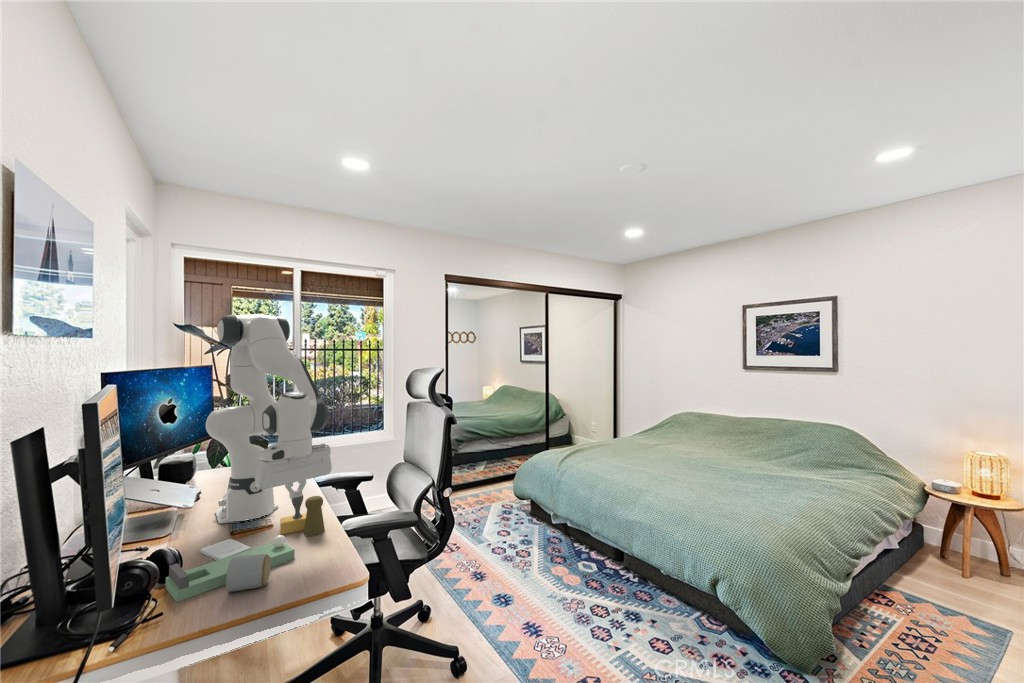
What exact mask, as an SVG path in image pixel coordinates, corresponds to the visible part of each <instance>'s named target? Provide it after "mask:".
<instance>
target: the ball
mask: <svg viewBox="0 0 1024 683" xmlns="http://www.w3.org/2000/svg"><path fill="white" fill-rule="evenodd" d="M286 541H287V540H286V537H285V536H284V534H283V535H280V534H279V535H278V534H277V535H276V536H274V538H273V539H272V542H273V546H274V547H276V548H280V547H282V546H283V545H284V544H286Z"/></svg>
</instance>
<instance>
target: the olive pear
mask: <svg viewBox="0 0 1024 683" xmlns="http://www.w3.org/2000/svg"><path fill="white" fill-rule="evenodd" d="M323 505H324V499H323V497H322V496H320V495H314V496H309V497H307V499H305V503H304V506H305V508H306V513H307V514H306V522H305V529H304V530H303V531H304V532H303V535H304V536H306V537H314V536H318V535H321V534H323V533H324V532H326V530H325V521H324V516H323V508H322V506H323Z"/></svg>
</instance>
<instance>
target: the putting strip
mask: <svg viewBox="0 0 1024 683" xmlns="http://www.w3.org/2000/svg"><path fill="white" fill-rule="evenodd" d="M295 551H296V550H295V548H293V547H292V546H290V545H288V544H286V543H285V544H284V545H283V546H282V547H280V548H276V547H274V546H273V541H272V542H270V543H265V544H263V545H261V546H260V545H259V546H258V547H254V548H252V549H251V550H248V551H245V552H242V553H239V554H236V555H233V556H242V555H256V554H267V555H269V556H270V558H271V568H273V567H276V566H279V565H281V564H285V563H286V562H289V561H292V560H295V559H296V558H295V554H296V553H295ZM233 556H230V557H226V558H223V559H220V560H215V561H211V562H209V563H208V562H207V563H206V564H202V565H200V566H197V567H194V568H190V569H187V570H184V568H183V567H181V565H180V564H179V563H174V564H171V565H169V568H168V569H169V570H168V571H169V572H168V574H169V575H168V576H166V577H165V589H166V590H167V592H168V593H169V594H170V596H171V597H172V599H173V600H174V602H176V603H179V602H181V601H184V600H186V599H189V598H191V597H194V596H197V595H199V594H200V595H201V594H203V593H206V592H208V591H210V590H213V589H216V588H219V587H221V586H224V585H225V586H226V576H227V570H228V565H229V563H230V561H231V559H232V557H233Z"/></svg>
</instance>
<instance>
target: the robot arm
mask: <svg viewBox="0 0 1024 683" xmlns="http://www.w3.org/2000/svg"><path fill="white" fill-rule="evenodd" d="M290 327H291V326H290V324H289V322H288V320H287V319H286V318H284V317H282V316H278V315H273V316H272V315H264V314H239V315H236V314H228V315H224V316H222V317H221V318H220V319H219V322H218V324H217V326H216V334H217V336H218V341H220V343H222V344H223V345H224V346H225V345H226V346H231V353H230V365H229V366H230V367H229V368H230V371H229V372H230V374H229V375H230V382H229V383H230V388H231V389H232V391H233V392H234V393H236V394H238V395H240V396H243V397H246V399H247V400H248V401H249V402H248V403H249V404H248V405H247V404H246V405H237V406H228V407H227V406H226V407H224V408H219V409H215V410H213V411H211V413H209V415H208V416H207V419H206V421H205V430H206V432H207V433H208V435H209V436H210V437H211V438H212V439H214V440H216V441H218V442H219V443H220V444H222V445H223V447H225V449H226V451H227V452H228V455H229V462H230V477H229V481H228V489H227V490H226V492H224V494H223V496H222V499H218V503H217V504H218V507H220V508H217V509H215V513H214V514H215V516H216V519H217V522H218V524H227V523H233V522H232V521H238V520H246V519H253V518H258V517H261V516H264V517H266V516H265V515H267V516H269V515H271V514H272V513H273V512H274V511H275V510H277V509H279V505H278V504H277V503H275V498H274V497H275V496H274V488H275V487H280V486H284V487H285V489H286V490H287V491H288V494H289V499H290V500H291V499H293V498H296V497H300V496H302V494H303V490H304V488H305V486H306V485H307V480H310V479H311V480H312V479H313V478H314V479H315V478H319V477H323V476H327V475H330V474H331V472H332V470H333V467H332V459H331V446H330V445H329V444H326V443H320V444H313V435H312V433H313V432H320V431H322V429H324V427H325V426H326V425H327V424H328V422H329V419H330V411H329V408H328V406H327V403H326V402H325V401H324V400H323V398H322V397H321V395H320V393H319V391H318V389H317V387H316V385H315V383H314V381H313V378H312V376H311V374H310V372H309V370H308V368H307V366H306V364H305V363H304V361H303V360H302V359H300V358H299V357H297V356H296V355H294V353H292V351H291V350H290V348H289V347H288V343H287V342H288V340H289V339H290V333H291V329H290ZM267 375H272V376H276V377H280V378H283V379H287V380H288V381H290V382H292V383H293V384H294V385H295V387H296V389H297V390H298V391H286V392H285V393H281V394H280V395H279V397H278V400H276V399H275V398H274V397H273V395H272V394H271V392H270V389H269V386H268V376H267ZM266 434H268V435H271V436H278V437H277V443H276V444H274V445H272V446H270V447H267V448H264V447H262V446H260V445H256V444H252V443H251V441H250V437H252V436H257V435H258V436H259V435H266ZM294 483H298V484H299V485H298V487H297V489H295V490H293V488H292V487H294Z"/></svg>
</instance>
